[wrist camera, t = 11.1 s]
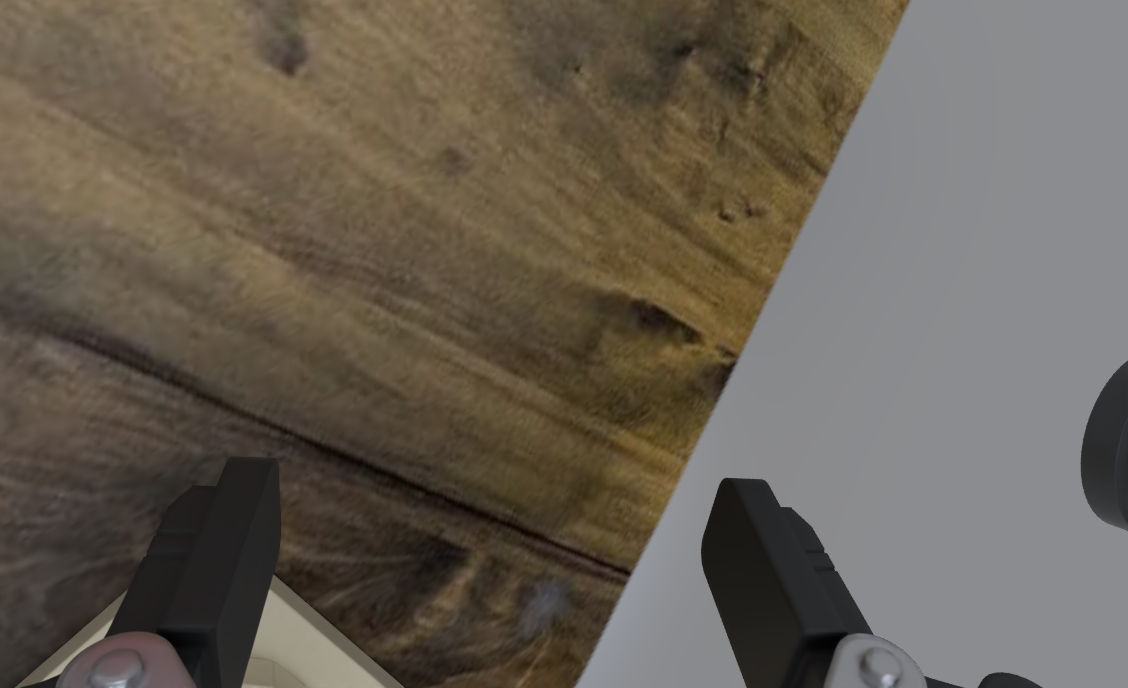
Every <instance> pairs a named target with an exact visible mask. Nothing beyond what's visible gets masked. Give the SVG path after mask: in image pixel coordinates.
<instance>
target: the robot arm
mask: <svg viewBox="0 0 1128 688" xmlns="http://www.w3.org/2000/svg"><path fill="white" fill-rule="evenodd" d="M280 539H281V511H280V488H279V467H278V461H277V459H276V458H258V457H233V456H232V457H230V458H229V459H228V460H227V463H226V465H225V467H224V469H223V472H222V474H221V477H220V479H219V481H218V484H217V486H216V487H215V486H192V487H191V488H190V489H189V490H187V491H186V492H185V493H184V494H183V495H182V496H180V497H179V498H178V499H177V500H176V501H175V502H174V503H172V504H171V505H170V506H169V507H168V509H167V511H166V513H165V515H164V518H163V520H162V522H161V524H160V526H159V528H158V530H157V535H156V536H154V538H153V540H152V542H151V544H150V546H149V548H148V550H147V555H146V557H144V558H143V560H142V562H141V564H140V566H139V568H138V570H137V572H136V575H135V577H134V579H133V581H132V583H131V585H130V587H129V589H128V591H127V593H126V595H125V597H124V599H123V601H122V603H121V605H120V607H119V609H118V611H117V613H116V615H115V617H114V619H113V621H112V623H111V625H110V627H109V629H108V632H107V633H106V635H105V637H104V638H103V639H102V640H99V641H97V642H96V643H94V644H92V645H90V646H88V647H87V648H85V649H84V650H82V651H81V652H80V653H79V654H77V655H76V656H75V657H74V658H73V659H72V660H71V661H70V662H69V663H68V664H67V665H66V667H65V668H64V670H63V671H62V672H61V674H59V675H57V676H55V677H52V678H50V679H47V680H45V681H42V682H38V683H35V684H32V685H28V686H24V687H20V688H241V687H242V684H243V680H244V677H245V673H246V669H247V666H248V662H249V659H250V655H251V652H252V648H253V645H254V641H255V638H256V634H257V631H258V627H259V623H260V620H261V616H262V613H263V609H264V606H265V602H266V599H267V595H268V592H269V588H270V585H271V581H272V577H273V574H274V570H275V567H276V563H277V559H278V554H279V548H280ZM701 558H702V566H703V570H704V573H705V576H706V579H707V582H708V584H709V587H710V590H711V592H712V595H713V598H714V601H715V603H716V606H717V608H718V611H719V614H720V617H721V619H722V622H723V625H724V627H725V630H726V633H727V636H728V638H729V641H730V644H731V646H732V649H733V651H734V654H735V657H736V660H737V663H738V665H739V668H740V671H741V673H742V676H743V679H744V681H745V684H746V687H747V688H963V687H960V686H955V685H952V684H949V683H945V682H942V681H938V680H935V679H931V678H929V677H925V676H924V675H923V673H922V671H921V670H920V668H919V667H918V665H917V664H916V662H915V661H914V660H913V659H912V658H911V657H910V656H909V655H908V654H907V653H906V652H904V651H903V650H902V649H901V648H899V647H898V646H896V645H895V644H893V643H891V642H890V641H888V640H885V639H883V638H881V637H878V636H875V635H874V634H873V633H872V631H871V629H870V627H869V626H868V624H867V622H866V621H865V619H864V617H863V615H862V614H861V612H860V610H859V608H858V606H857V605H856V603H855V601H854V600H853V598H852V596H851V594H850V593H849V591H848V589H847V588H846V586H845V584H844V582H843V580H842V579H841V577H840V575H839V573H838V572H837V571H835V570H834V565H833V563H832V561H831V560H830V558H829V556H828V554H827V553H824V547H823V545H822V544H821V542H820V540H819V538H818V537H817V535H816V533H815V531H814V530H813V528H812V527H811V526H810V525H809V524H808V523H807V522H806V521H805V520H804V519H802V517H800V516H799V515H798V514H797V513H796V512H795V511H794V510H793V509H792V508H790V507H789V508H788V507H780V505H779V503H778V501H777V500H776V497H775V496H774V494H773V492H772V490H771V488H770V486H769V485H768V483H767V482H766V481H765V480H762V479H740V478H739V479H738V478H725V479H723V480H722V481H721V483H720V485H719V488H718V491H717V494H716V497H715V500H714V504H713V507H712V510H711V513H710V516H709V519H708V523H707V526H706V529H705V532H704V535H703V540H702V547H701ZM978 688H1042V687H1040V686H1039V685H1037V684H1035V683H1034V682H1032V681H1030V680H1028V679H1026V678H1023V677H1020V676H1018V675H1014V674H1010V673H1003V672H1001V673H993V674H989V675H988V676H986V677H985V678H984V679H983V680H982V682H981V683H980V685H979V686H978Z"/></svg>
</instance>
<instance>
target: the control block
mask: <svg viewBox="0 0 1128 688" xmlns="http://www.w3.org/2000/svg"><path fill="white" fill-rule="evenodd" d="M127 591H128V590H126V591H125V592H124V593H123V594H122V595H121V596H120V597H118V598H117V599H116V600H115V601H114V602H113V603H111V604H110V605H109V606H108V607H107V608H106V609H105V610H103V611H102V612H101V613H100V614H99V615H98V616H97V617H95V618H94V619H93V620H92V621H91V622H90V623H88V624H87V625H86V626H85V627H84V628H83V629H82V630H80V631H79V632H78V633H77V634H76V635H75V636H74V637H72V638H71V639H70V640H69V641H68V642H67V643H65V644H64V645H63V646H62V647H61V648H60V649H59V650H57V651H56V652H55V653H54V654H53V655H52V656H51V657H49V658H48V659H47V660H46V661H45V662H44V663H42V664H41V665H40V666H39V667H38V668H37V669H36V670H34V671H33V672H32V673H31V674H30V675H29V676H28V677H26V678H25V679H24V680H23V681H22V682H21V683H19V684H18V685H17V686H16V687H15V688H20V687H24V686H28V685H32V684H35V683H38V682H42V681H45V680H47V679H50V678H52V677H55V676H57V675H59V674H61V672H62V671H63V670H64V668H65V667H66V665H67V664H68V663H69V662H70V661H71V660H72V659H73V658H74V657H75V656H76V655H77V654H79V653H80V652H81V651H82V650H84V649H85V648H87V647H88V646H90V645H92V644H94V643H96V642H97V641H99V640H102V639H103V638H104V637H105V635H106V633H107V632H108V629H109V627H110V625H111V623H112V621H113V619H114V617H115V615H116V613H117V611H118V609H119V607H120V605H121V603H122V601H123V599H124V597H125V595H126V593H127ZM241 688H405V687H403V686H402V685H401V684H400V683H399V682H398V681H396V680H395V679H394V678H393V677H392V676H391V675H389V674H388V673H387V672H386V671H385V670H384V669H383V668H381V667H380V666H379V665H378V664H377V663H376V662H374V661H373V660H372V659H371V658H370V657H369V656H367V655H366V654H365V653H364V652H363V651H362V650H361V649H359V648H358V647H357V646H356V645H355V644H354V643H352V642H351V641H350V640H349V639H348V638H347V637H346V636H344V635H343V634H342V633H341V632H340V631H339V630H337V629H336V628H335V627H334V626H333V625H332V624H330V623H329V622H328V621H327V620H326V619H325V618H324V617H322V616H321V615H320V614H319V613H318V612H317V611H315V610H314V609H313V608H312V607H311V606H310V605H308V604H307V603H306V602H305V601H304V600H303V599H302V598H300V597H299V596H298V595H297V594H296V593H295V592H293V591H292V590H291V589H290V588H289V587H288V586H286V585H285V584H284V583H283V582H282V581H281V580H280V579H278V578H277V577H276V576H275V575H274V574H273V577H272V581H271V585H270V588H269V592H268V595H267V599H266V602H265V606H264V609H263V613H262V616H261V620H260V623H259V627H258V631H257V634H256V638H255V641H254V645H253V648H252V652H251V655H250V659H249V662H248V666H247V669H246V673H245V677H244V680H243V684H242V687H241Z"/></svg>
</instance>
